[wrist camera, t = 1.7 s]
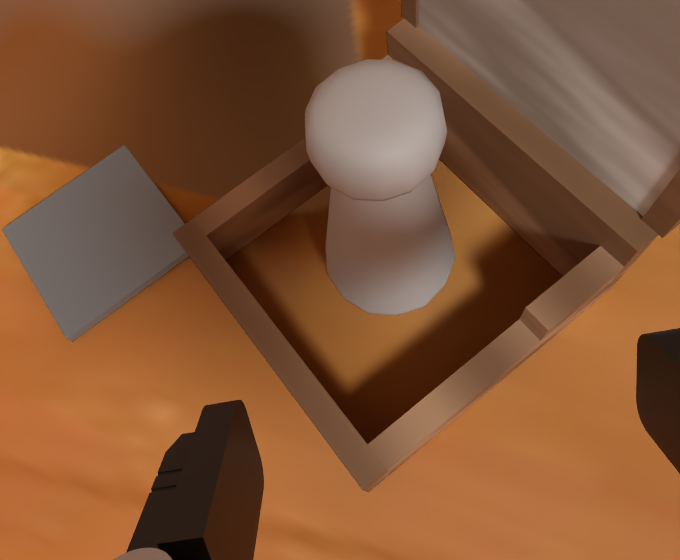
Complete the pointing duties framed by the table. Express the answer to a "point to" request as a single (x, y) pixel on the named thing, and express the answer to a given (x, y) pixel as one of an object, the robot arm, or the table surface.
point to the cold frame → (497, 180)
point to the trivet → (97, 242)
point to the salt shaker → (381, 184)
